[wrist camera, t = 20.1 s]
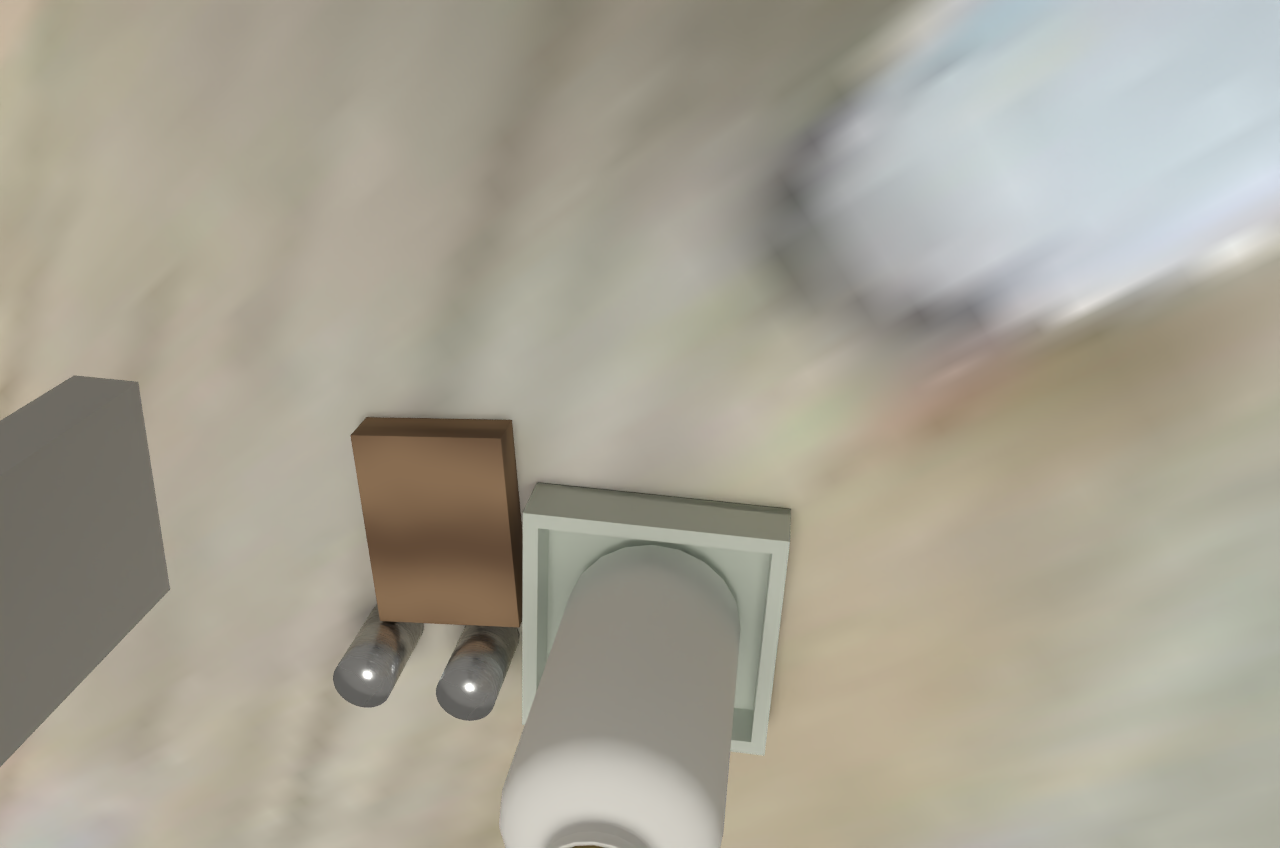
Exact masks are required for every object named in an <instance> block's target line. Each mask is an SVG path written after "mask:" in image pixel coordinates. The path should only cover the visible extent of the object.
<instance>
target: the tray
mask: <svg viewBox="0 0 1280 848" xmlns="http://www.w3.org/2000/svg"><path fill="white" fill-rule="evenodd" d="M790 510H791V509H785V508H775V507H766V506H756V505H747V504H737V503H728V502H718V501H708V500H699V499H689V498H680V497H670V496H661V495H651V494H642V493H632V492H623V491H613V490H603V489H594V488H584V487H575V486H565V485H556V484H546V483H537V484H536V486H535V489H534V491H533V493H532V495H531V497H530V499H529V501H528V503H527V505H526V507H525V509H524V512H523V604H522V725H525V723H526V720H527V718H528V715H529V712H530V709H531V706H532V703H533V700H534V697H535V694H536V692H537V689H538V686H539V683H540V680H541V677H542V674H543V671H544V669H545V666H546V663H547V660H548V657H549V654H550V651H551V648H552V646H553V643H554V640H555V637H556V634H557V631H558V628H559V625H560V623H561V620H562V617H563V614H564V611H565V608H566V605H567V602H568V600H569V597H570V594H571V592H572V591H573V589H574V587H575V585H576V583H577V582H578V580H579V578H580V576H581V574H582V573H583V572H584V571H585V570H587V569H588V568H589V567H590V566H591V565H592V564H594V563H595V562H596V561H597V560H598V559H599V558H601V557H602V556H605V555H607V554H610V553H612V552H615V551H617V550H620V549H622V548H625V547H634V546H645V545H656V546H662V547H667V548H672V549H678V550H681V551H683V552H685V553H687V554H689V555H691V556H693V557H695V558H697V559H699V560H701V561H703V562H705V563H706V564H707V565H708V566H709V567H710V568H711V569H712V570H714V571H715V572H716V573H717V574H718V575H719V576H720V577H721V578H722V579H723V580H724V581H725V583H726V585H727V586H728V588H729V590H730V592H731V594H732V595H733V597H734V599H735V601H736V603H737V608H738V614H739V620H740V626H741V630H740V642H739V654H738V666H737V677H736V689H735V701H734V713H733V724H732V736H731V748H730V751H732V752H740V753H748V754H756V755H764V754H765V746H766V737H767V729H768V721H769V712H770V704H771V696H772V687H773V679H774V671H775V662H776V654H777V646H778V637H779V629H780V621H781V612H782V604H783V596H784V587H785V579H786V571H787V562H788V554H789V546H790Z"/></svg>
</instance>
